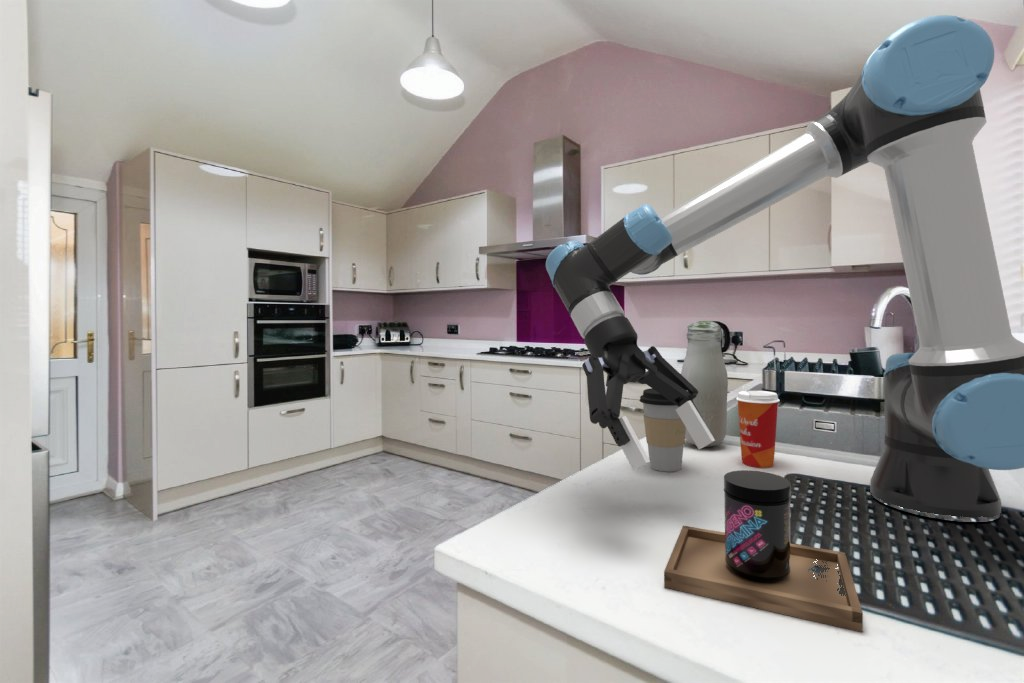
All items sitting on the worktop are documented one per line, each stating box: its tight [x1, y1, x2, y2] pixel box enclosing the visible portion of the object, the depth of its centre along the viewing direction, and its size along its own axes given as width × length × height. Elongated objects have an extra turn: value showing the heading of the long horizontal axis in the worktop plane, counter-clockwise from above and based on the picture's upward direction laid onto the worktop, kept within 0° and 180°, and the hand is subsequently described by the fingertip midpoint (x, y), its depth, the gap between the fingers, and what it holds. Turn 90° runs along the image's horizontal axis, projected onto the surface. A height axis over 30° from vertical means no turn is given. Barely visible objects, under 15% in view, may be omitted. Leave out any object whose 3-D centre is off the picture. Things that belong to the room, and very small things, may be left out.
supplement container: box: [723, 469, 792, 583], centre depth 56 cm, size 7×7×10 cm
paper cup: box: [735, 390, 780, 469], centre depth 97 cm, size 8×8×14 cm
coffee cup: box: [639, 387, 686, 473], centre depth 96 cm, size 9×9×15 cm
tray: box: [663, 525, 864, 633], centre depth 56 cm, size 18×13×2 cm
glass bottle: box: [680, 320, 729, 448], centre depth 110 cm, size 10×10×28 cm
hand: (676, 455), depth 67 cm, fingers open, 13 cm apart
